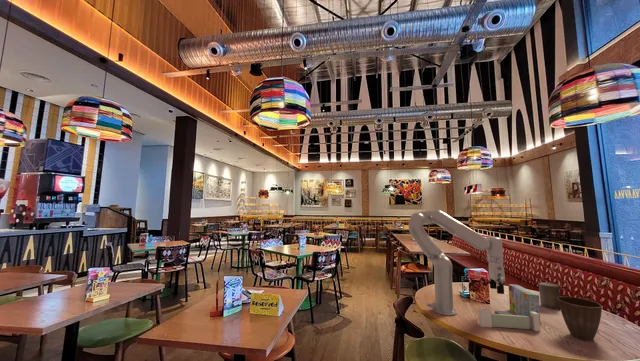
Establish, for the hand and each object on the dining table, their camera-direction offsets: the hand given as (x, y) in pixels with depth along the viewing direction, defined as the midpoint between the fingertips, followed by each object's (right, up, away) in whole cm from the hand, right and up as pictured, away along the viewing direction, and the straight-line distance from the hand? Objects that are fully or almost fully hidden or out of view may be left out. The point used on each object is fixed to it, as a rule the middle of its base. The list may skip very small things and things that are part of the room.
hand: (496, 291), depth 144 cm
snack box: (+15, -15, 0) cm, 21 cm away
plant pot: (+24, -12, -23) cm, 36 cm away
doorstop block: (-1, -13, -8) cm, 16 cm away
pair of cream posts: (-4, -12, -14) cm, 19 cm away
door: (-2, -12, -14) cm, 19 cm away
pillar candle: (+44, -17, +16) cm, 50 cm away
